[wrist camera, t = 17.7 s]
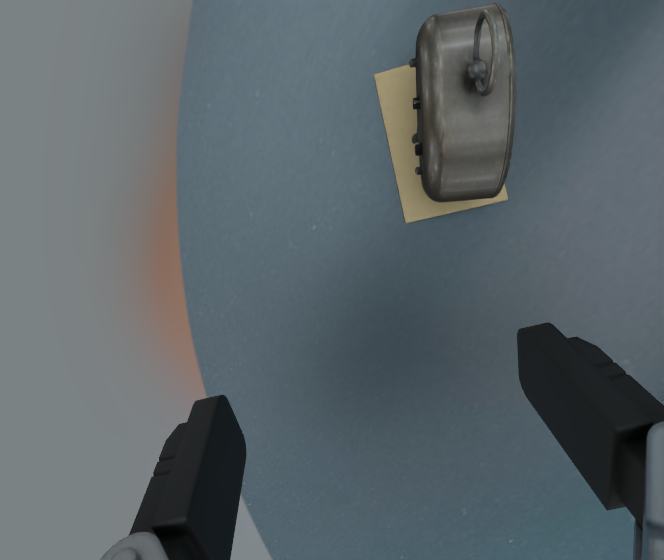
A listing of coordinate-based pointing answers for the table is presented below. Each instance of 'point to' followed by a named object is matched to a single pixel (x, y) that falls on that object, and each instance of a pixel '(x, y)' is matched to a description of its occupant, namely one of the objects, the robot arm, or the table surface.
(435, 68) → the alarm clock
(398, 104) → the mat
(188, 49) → the table surface
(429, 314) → the table surface
